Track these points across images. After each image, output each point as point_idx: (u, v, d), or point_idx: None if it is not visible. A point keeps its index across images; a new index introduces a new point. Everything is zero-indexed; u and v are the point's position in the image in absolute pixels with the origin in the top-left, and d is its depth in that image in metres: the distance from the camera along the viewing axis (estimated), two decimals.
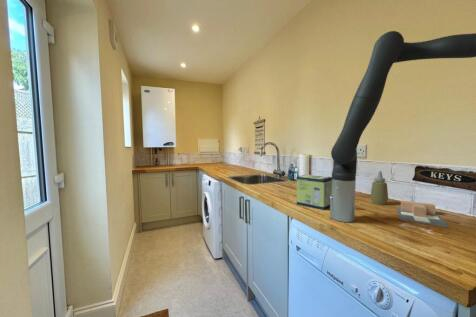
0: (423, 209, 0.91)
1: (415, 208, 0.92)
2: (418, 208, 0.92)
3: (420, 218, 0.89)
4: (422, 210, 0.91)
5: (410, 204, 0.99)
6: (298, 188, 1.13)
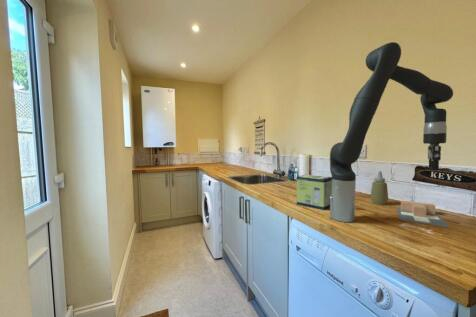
0: (423, 209, 0.91)
1: (415, 208, 0.92)
2: (418, 208, 0.92)
3: (420, 218, 0.89)
4: (422, 210, 0.91)
5: (410, 204, 0.99)
6: (298, 188, 1.13)
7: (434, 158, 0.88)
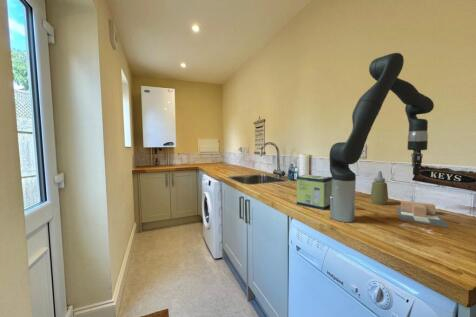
0: (423, 209, 0.91)
1: (415, 208, 0.92)
2: (418, 208, 0.92)
3: (420, 218, 0.89)
4: (422, 210, 0.91)
5: (410, 204, 0.99)
6: (298, 188, 1.13)
7: (415, 165, 1.01)
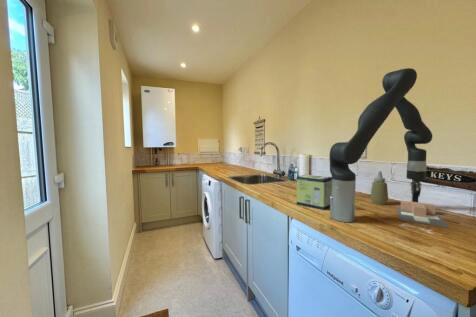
0: (423, 209, 0.91)
1: (415, 208, 0.92)
2: (418, 208, 0.92)
3: (420, 218, 0.89)
4: (422, 210, 0.91)
5: (410, 204, 0.99)
6: (298, 188, 1.13)
7: (414, 194, 1.03)
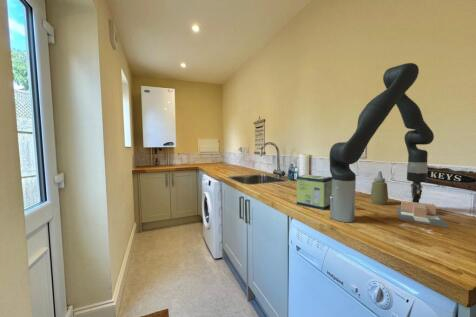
0: (423, 209, 0.90)
1: (415, 208, 0.92)
2: (418, 208, 0.91)
3: (420, 218, 0.89)
4: (422, 210, 0.90)
5: (410, 204, 0.98)
6: (298, 188, 1.13)
7: (415, 197, 0.99)
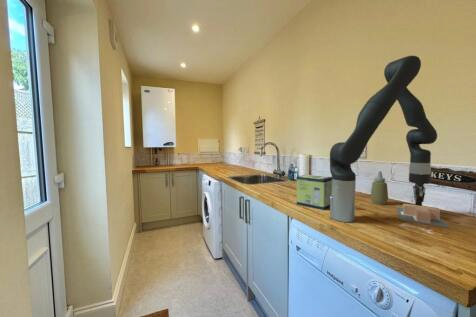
0: (427, 213, 0.85)
1: (419, 212, 0.86)
2: (422, 212, 0.86)
3: None
4: (426, 215, 0.85)
5: (413, 208, 0.93)
6: (298, 188, 1.13)
7: (417, 200, 0.94)
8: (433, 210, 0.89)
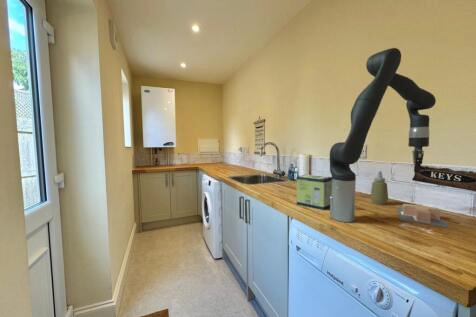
0: (427, 213, 0.85)
1: (419, 212, 0.86)
2: (422, 212, 0.86)
3: None
4: (426, 215, 0.85)
5: (413, 208, 0.93)
6: (298, 188, 1.13)
7: (416, 162, 1.00)
8: (433, 210, 0.89)
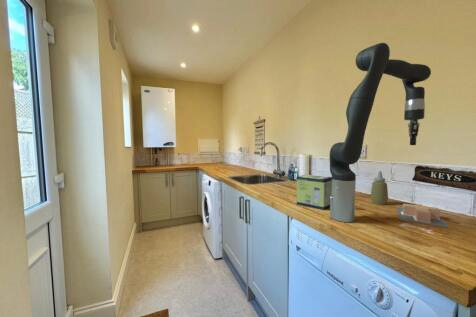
0: (427, 213, 0.85)
1: (419, 212, 0.86)
2: (422, 212, 0.86)
3: None
4: (426, 215, 0.85)
5: (413, 208, 0.93)
6: (298, 188, 1.13)
7: (412, 134, 1.00)
8: (433, 210, 0.89)
